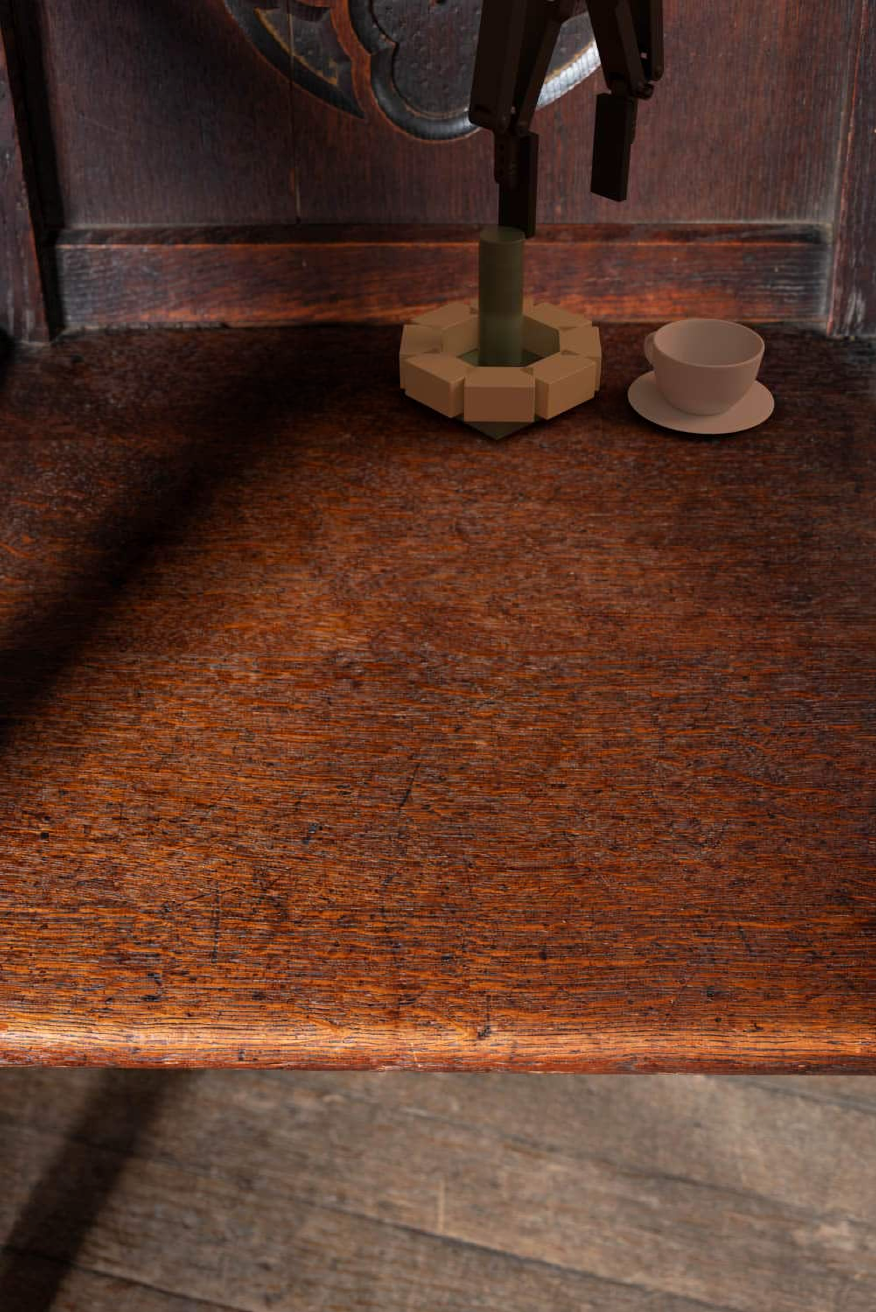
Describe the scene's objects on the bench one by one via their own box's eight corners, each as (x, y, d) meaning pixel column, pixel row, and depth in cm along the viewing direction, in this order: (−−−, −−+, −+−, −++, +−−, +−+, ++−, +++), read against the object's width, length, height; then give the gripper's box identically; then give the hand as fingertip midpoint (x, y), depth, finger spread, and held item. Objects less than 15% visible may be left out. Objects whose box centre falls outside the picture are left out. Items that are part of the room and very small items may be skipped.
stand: (408, 393, 89) (404, 233, 82) (500, 354, 94) (503, 199, 86) (497, 440, 84) (500, 273, 76) (589, 396, 88) (600, 235, 81)
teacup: (801, 403, 87) (813, 340, 84) (715, 456, 82) (725, 391, 79) (684, 358, 93) (692, 297, 90) (597, 404, 87) (602, 342, 84)
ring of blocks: (362, 372, 88) (360, 338, 87) (500, 315, 95) (501, 282, 94) (498, 443, 80) (499, 407, 79) (638, 376, 87) (641, 341, 86)
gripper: (496, -156, 63) (490, 276, 78) (754, -200, 74) (705, 187, 88) (398, -172, 67) (410, 241, 82) (655, -211, 78) (625, 160, 93)
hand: (563, 213), depth 85 cm, fingers open, 8 cm apart
